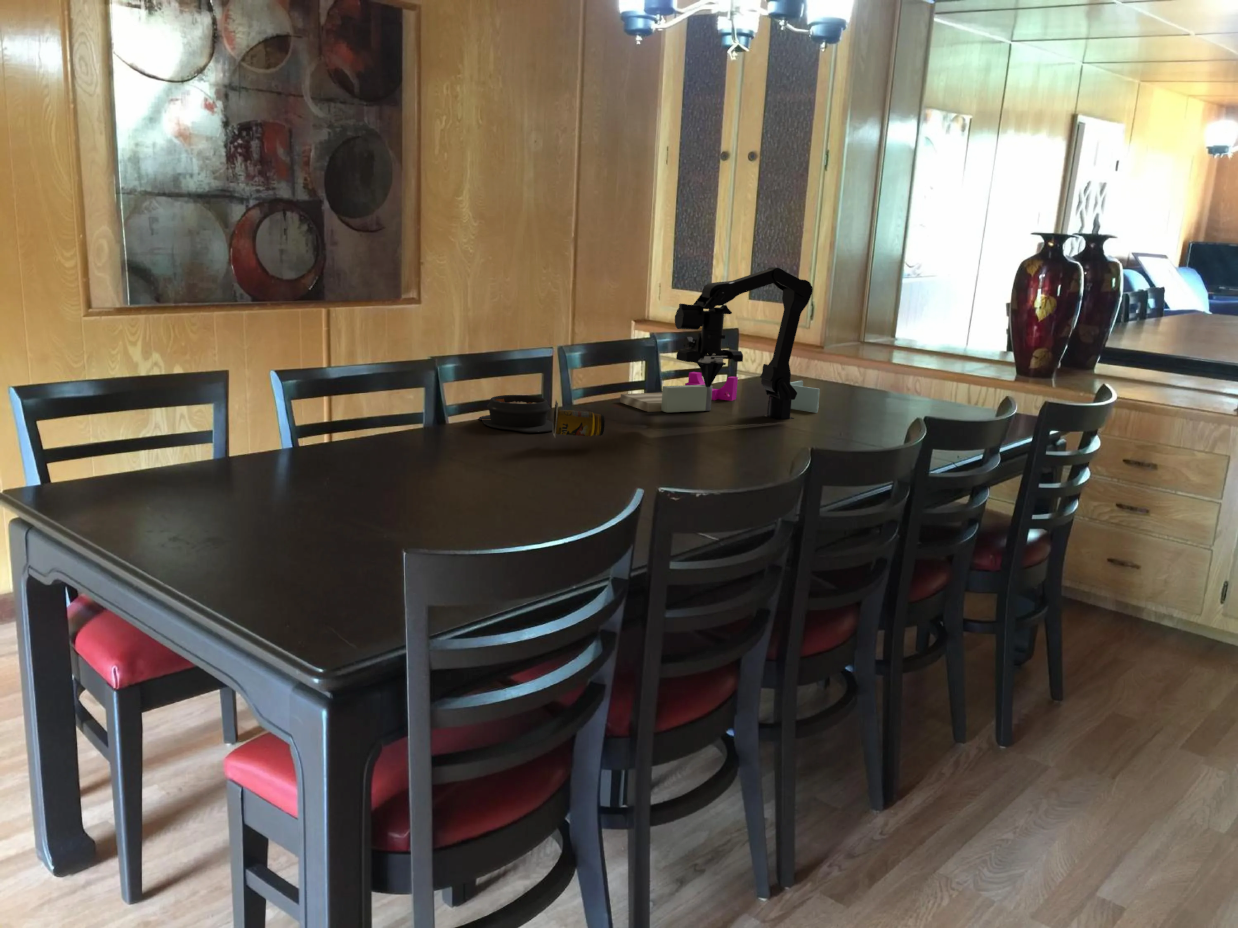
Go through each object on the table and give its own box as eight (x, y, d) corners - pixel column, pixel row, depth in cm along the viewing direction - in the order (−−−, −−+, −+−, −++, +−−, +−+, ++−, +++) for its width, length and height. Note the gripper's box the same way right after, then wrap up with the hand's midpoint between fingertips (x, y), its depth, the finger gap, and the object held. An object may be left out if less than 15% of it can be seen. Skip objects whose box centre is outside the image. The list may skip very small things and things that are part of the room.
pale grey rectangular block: (706, 408, 284) (708, 384, 282) (712, 410, 281) (714, 386, 279) (660, 410, 276) (662, 386, 274) (667, 412, 273) (668, 387, 272)
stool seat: (706, 409, 284) (707, 400, 284) (648, 411, 274) (648, 403, 274) (676, 400, 298) (677, 392, 297) (620, 402, 288) (620, 394, 287)
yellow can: (554, 438, 231) (604, 441, 234) (557, 403, 230) (607, 406, 232) (551, 432, 238) (599, 435, 241) (554, 398, 237) (602, 401, 239)
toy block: (684, 397, 305) (685, 373, 304) (691, 395, 311) (693, 371, 309) (728, 403, 299) (730, 379, 297) (736, 400, 304) (737, 377, 303)
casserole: (461, 425, 261) (462, 394, 259) (516, 419, 274) (517, 390, 272) (520, 442, 244) (521, 409, 242) (575, 434, 257) (576, 403, 255)
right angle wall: (816, 414, 288) (818, 389, 286) (780, 408, 295) (782, 384, 293) (833, 409, 297) (835, 385, 296) (797, 404, 304) (800, 380, 303)
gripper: (723, 327, 276) (718, 382, 279) (667, 326, 267) (663, 383, 270) (746, 331, 266) (741, 388, 270) (690, 331, 257) (685, 389, 261)
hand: (707, 386), depth 268 cm, fingers closed
